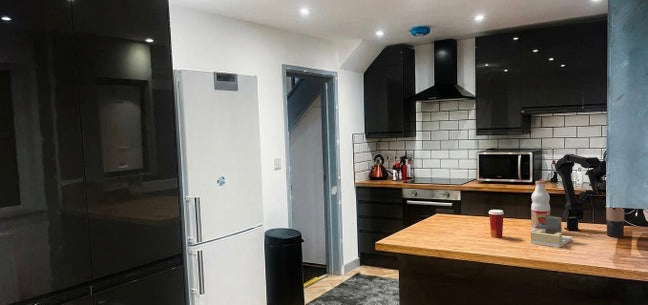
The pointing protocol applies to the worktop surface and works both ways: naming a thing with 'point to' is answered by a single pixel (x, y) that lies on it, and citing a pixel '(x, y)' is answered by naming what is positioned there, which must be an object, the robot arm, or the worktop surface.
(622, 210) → the travel mug
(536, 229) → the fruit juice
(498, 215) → the paper cup
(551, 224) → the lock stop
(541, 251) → the worktop surface
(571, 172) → the robot arm
